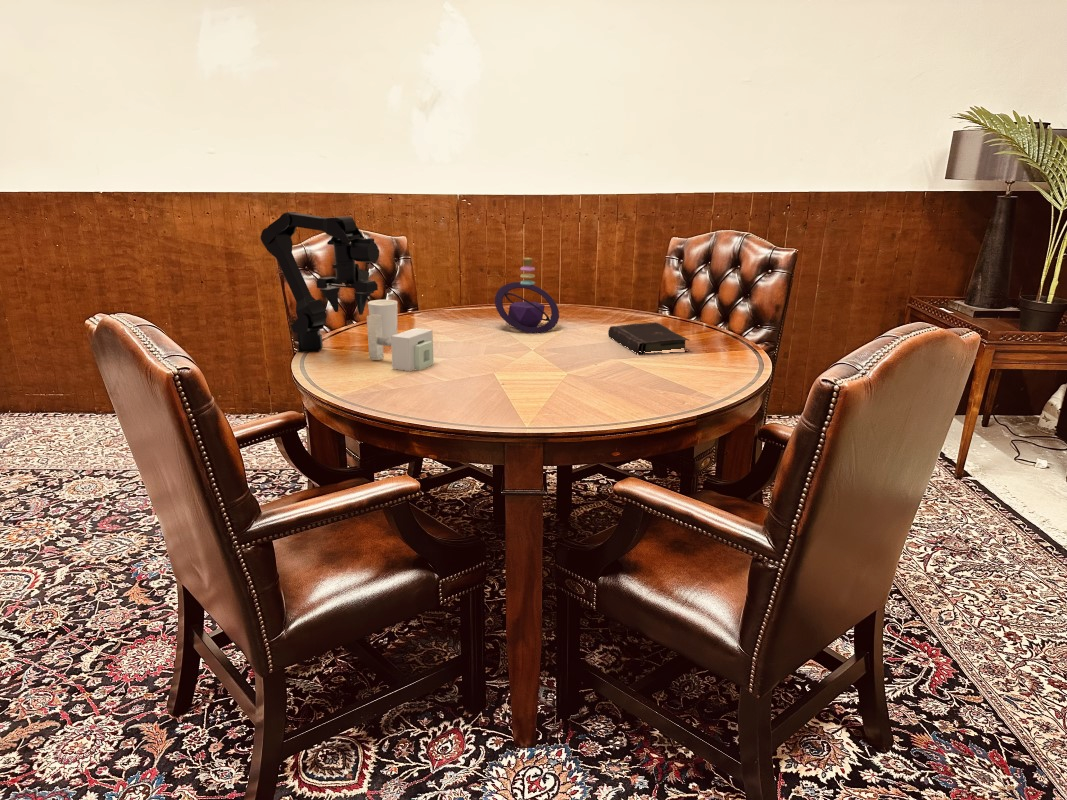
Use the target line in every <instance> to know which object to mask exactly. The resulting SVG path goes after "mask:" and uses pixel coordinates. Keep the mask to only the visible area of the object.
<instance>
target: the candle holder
mask: <svg viewBox="0 0 1067 800" xmlns="http://www.w3.org/2000/svg"><path fill="white" fill-rule="evenodd" d="M367 307H368V316H369V315H372V314H375V315H381V319H382V337H385V338H391V336H393V335H396V334H398V300H394V299H375V300H374V299H373V300H370V301H368V302H367Z"/></svg>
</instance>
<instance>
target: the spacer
mask: <svg viewBox="0 0 1067 800" xmlns="http://www.w3.org/2000/svg"><path fill="white" fill-rule="evenodd" d="M414 351H415V369H416V370H415V371H422V370H424V369H427V368H429V367H432V366H434V365H433V364H434V363H435V362H434V361H435V359H434V340H433V341H426V342H423V343H421V344H418V345H415V346H414ZM423 351H425V360H423ZM433 359H434V360H433ZM431 365H432V366H431ZM426 367H427V368H426ZM421 369H422V370H421Z"/></svg>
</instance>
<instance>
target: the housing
mask: <svg viewBox="0 0 1067 800" xmlns="http://www.w3.org/2000/svg"><path fill="white" fill-rule="evenodd" d="M433 335H434V334H433V329H426V328H417V327H415V328H412V329H409V330H405V331H402V332H398V333H397V334H396V335H393V336H391V346H390V347H391V363H392V364H391V365H392V366H391V367H392V370H396V369H398V370H397V371H403V370H405V372H412V370H413V371H414V370H415V351H414V346H415V345H418V344H421V343H423V342H426V341H433V342H434V339H433V337H434V336H433ZM423 360H425V351H423ZM433 360H434V361H435V359H434V358H433ZM415 371H416V370H415Z"/></svg>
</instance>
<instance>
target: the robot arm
mask: <svg viewBox="0 0 1067 800" xmlns="http://www.w3.org/2000/svg"><path fill="white" fill-rule="evenodd" d="M297 228H301V229H302V228H303V229H309V230H314V231H320V232H323V233H325V234H326V235H328V236H331V238H330V239H329V240H327V245H330V246H333V250H334V251H333V253H334V263H333V264H332V266H331V267H332V269H335V276H325V277H318V278H317V280H316V288H317V289H320V292H322V293H323V295H324V296H325V298H326V299H327V301H328V302H329V304H330V306H331V307H332V309H333V311H334V313H339V291H340V289H341V288H347V289H354V290H355V292H354V297H355V302H356V307H357V312H358V315H360V316H363V314H364V311H365V308H366V304H367V301H368V299H369V297H370V295H371V294H374V293H375V292H376V291H378V287H379V285H378V283H377V281H376V280H371V279H370V280H369V278H370V272H369V271H367V270H363V269H360V265H359V263H376V262H377V261H378V259H379V258H380V249H379V247H378V245H377V243H376V242H375V238H371V237H370V238H365V237H364V235H363V234H362V233H361V230H360V229H359V228H358V226H357V224H356V221H355V220H354V218H353V217H351V216H348V215H347V216H345V215H344V216H332V217H325V216H320V215H313V214H312V215H311V214H305V213H301V212H300V213H299V212H297V211H291V212H290V211H289V212H284V213H282V214H281V215H280V217H278V218H277V219H276V220H274V221H273V222H271V223H270V224H269V225H268V226H267V227H265V228H264V229H262V231H261V233H260V241H261V242H262V245H263V246H264V247H265V250H266V251H267V252H269V254H271V255H272V256H273V257H274V258H275V259H276V261H277V263H278V266H279V267H280V269H281V272H282V274H283V276H284V278H285V280H286V283H287V285H288V287H289V289H290V291H291V293H292V296H293V297H294V300H295V302H296V303H295V314H296V320H295V321H294V322H293V323H292V324H291V326H290V327H291V330H292V332H293V333H294V334H296V335H297V345H298V349H297V351H296V352H297V353H319V352H320V351H321V350H322V349H323V347H324V344H323V343H324V342H323V334H322V333H321V330H323V329H324V325H325V322H326V320H327V317H328V316H327V315H328V314H327V312H328V310H327V309H326V308H325V306H324V303H323V301H322V299H321V298H320V299H316V298H315V297H314V296H312V294H311V292H310V289H309V287H308V284H307V283H306V281H305V277H303V274H302V271H301V269H300V267H299V265H298V263H297V260H296V259H295V257H294V255H293V239H292V237H293V235H294V234H296V230H297ZM356 262H357V263H356Z"/></svg>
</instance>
